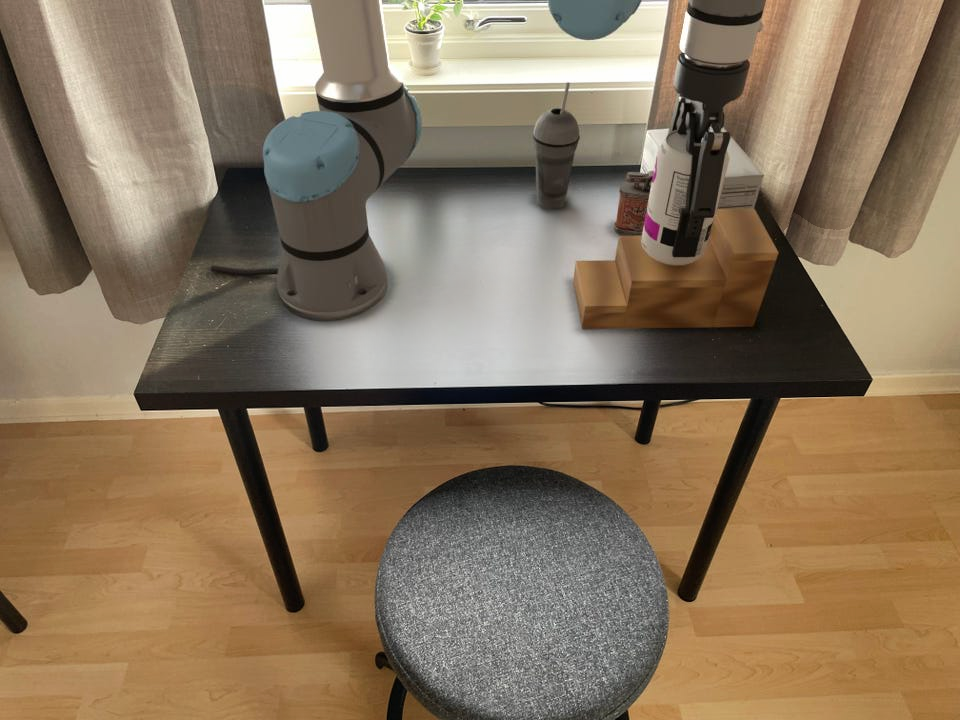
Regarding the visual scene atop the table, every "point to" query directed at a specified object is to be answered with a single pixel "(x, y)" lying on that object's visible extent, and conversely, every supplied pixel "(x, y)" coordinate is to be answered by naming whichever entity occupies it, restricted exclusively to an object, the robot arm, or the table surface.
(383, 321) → the table surface
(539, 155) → the beverage cup
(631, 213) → the lighter
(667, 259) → the supplement can
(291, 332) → the table surface
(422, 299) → the table surface
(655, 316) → the step shelf
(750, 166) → the supplement box
